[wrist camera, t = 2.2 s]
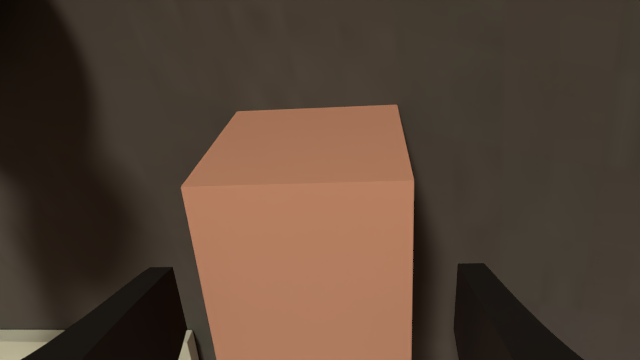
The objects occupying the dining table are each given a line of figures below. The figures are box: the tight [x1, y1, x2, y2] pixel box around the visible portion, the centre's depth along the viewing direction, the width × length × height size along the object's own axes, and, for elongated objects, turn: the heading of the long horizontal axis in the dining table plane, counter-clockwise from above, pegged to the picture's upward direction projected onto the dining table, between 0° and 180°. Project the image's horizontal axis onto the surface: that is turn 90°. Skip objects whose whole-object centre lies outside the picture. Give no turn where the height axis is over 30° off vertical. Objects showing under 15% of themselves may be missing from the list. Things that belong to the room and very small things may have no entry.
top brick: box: [181, 105, 414, 360], centre depth 13 cm, size 8×4×5 cm, turn 4°
